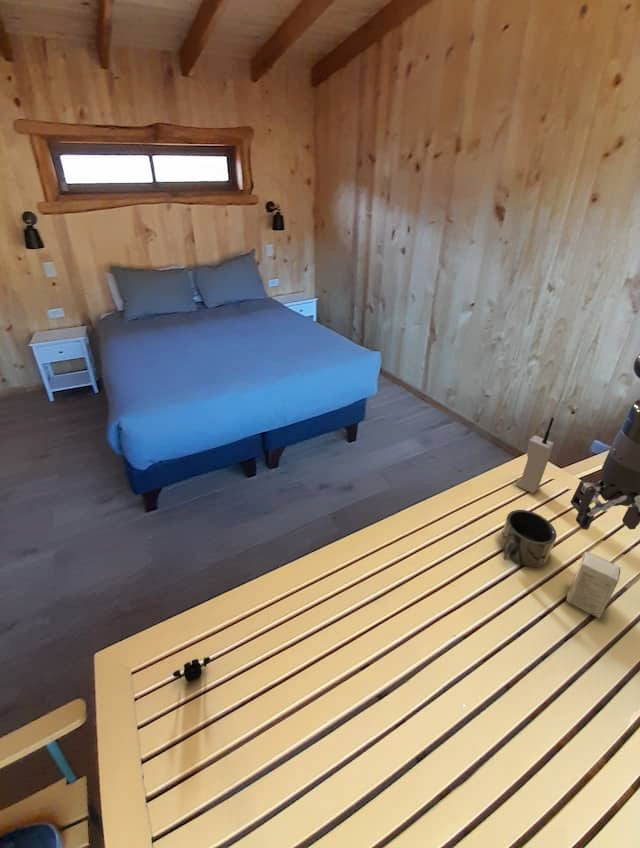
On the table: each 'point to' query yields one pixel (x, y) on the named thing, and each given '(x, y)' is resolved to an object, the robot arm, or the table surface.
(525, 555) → the mug
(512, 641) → the table surface
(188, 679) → the wireless earbuds
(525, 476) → the vintage mobile phone
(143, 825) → the table surface
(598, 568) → the cosmetic box
